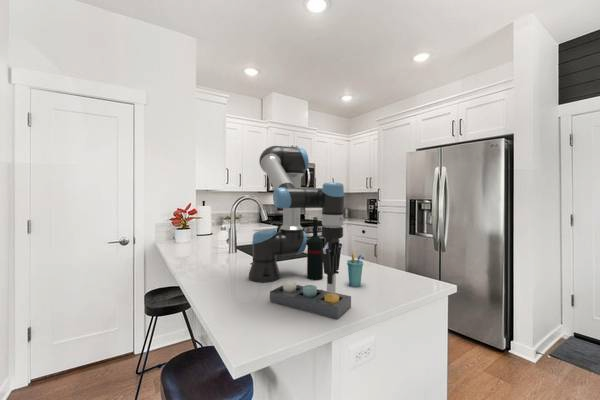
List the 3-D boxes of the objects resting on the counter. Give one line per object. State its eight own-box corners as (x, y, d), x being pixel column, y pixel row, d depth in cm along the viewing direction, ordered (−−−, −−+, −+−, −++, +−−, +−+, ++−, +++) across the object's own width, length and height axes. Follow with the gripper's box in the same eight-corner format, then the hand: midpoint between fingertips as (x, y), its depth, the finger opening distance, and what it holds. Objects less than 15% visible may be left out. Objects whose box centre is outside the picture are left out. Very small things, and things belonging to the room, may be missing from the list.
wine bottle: (316, 273, 145) (317, 216, 144) (325, 279, 135) (326, 217, 135) (302, 275, 142) (303, 216, 141) (310, 281, 132) (311, 218, 132)
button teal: (300, 297, 103) (300, 287, 103) (307, 293, 108) (307, 284, 108) (312, 300, 101) (312, 290, 101) (319, 295, 105) (319, 286, 105)
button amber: (321, 306, 99) (321, 296, 99) (328, 301, 103) (328, 292, 103) (335, 309, 96) (335, 299, 96) (341, 304, 100) (341, 295, 100)
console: (269, 301, 106) (270, 291, 106) (287, 292, 117) (287, 283, 117) (337, 319, 92) (337, 307, 92) (350, 307, 102) (351, 296, 102)
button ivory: (280, 292, 108) (280, 283, 108) (287, 288, 113) (287, 280, 112) (291, 295, 105) (291, 286, 105) (298, 291, 110) (298, 282, 110)
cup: (370, 290, 120) (371, 255, 120) (354, 291, 119) (354, 256, 118) (356, 280, 134) (357, 249, 134) (341, 281, 132) (342, 250, 132)
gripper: (334, 229, 92) (333, 300, 92) (349, 225, 103) (347, 288, 104) (314, 227, 95) (313, 295, 96) (330, 223, 107) (329, 284, 107)
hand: (331, 291), depth 100 cm, fingers closed
